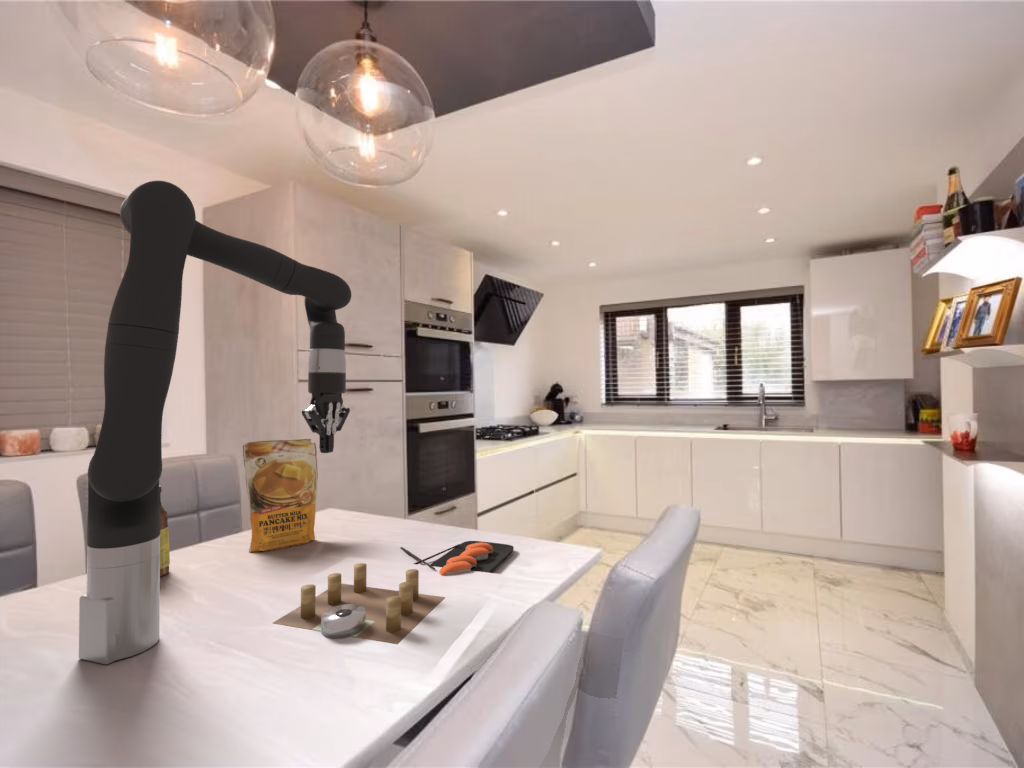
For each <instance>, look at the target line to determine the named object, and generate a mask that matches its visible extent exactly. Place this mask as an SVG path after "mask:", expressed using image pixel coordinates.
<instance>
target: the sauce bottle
mask: <svg viewBox="0 0 1024 768" xmlns="http://www.w3.org/2000/svg"><path fill="white" fill-rule="evenodd" d="M161 493H162V486H161V484H159V509H160V577H162V576H165V575H167V574H168V573H169V572H170V564H171V558H170V533H169V528H170V527H169V522H168V520H169V519H168V518H169V517H168V511H166V510H165V508H164V507H163V505H162V501H161V499H162V498H161V496H162V495H161Z"/></svg>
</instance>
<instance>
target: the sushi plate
mask: <svg viewBox="0 0 1024 768" xmlns="http://www.w3.org/2000/svg"><path fill="white" fill-rule="evenodd" d="M399 548H400V549H401V550H402V551H403V552H404V553H405V554H407V555H408V556H410V557H412V558H414V559H415V560H417V561H416V562H414V563H413V565H419V564H421V563H423V564H425V565H426V566H428V567H429V568H431V569H433V570H436V568H435V567H437V568H440V569H439V574H440V575H441V576H449V575H455V574H460V573H465V572H466V573H468V572H481V573H489V574H491V572H492V571H494V570H495V569H496V568H497V566H499V565H500V564H501V563H502V562H503V561H504V560H506V558H508V556H509V555H511V553H512V552H513V551H514V545H511V544H506V543H499V542H490V541H480V540H466V541H463V542H461V543H458V544H456V545H454V546H452V547H451V546H450V547H449V548H447V549H445V550H441V552H438V553H435V554H434V555H433V554H432V555H431V556H428V557H426V558H424V559H421V558H420V557H418V556H417V555H415V554H414V553H412V552H410V550H407V549H406V548H404V547H403V546H401V547H399ZM443 553H444V555H441V554H443ZM439 555H441V556H440V557H439V558H438V559H436V560H434V561H433V562H432V563H428V562H426V561H428V560H431V559H432V558H434V557H437V556H439Z"/></svg>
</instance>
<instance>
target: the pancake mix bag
mask: <svg viewBox="0 0 1024 768" xmlns="http://www.w3.org/2000/svg"><path fill="white" fill-rule="evenodd" d="M242 456H243V466H244V471H245V484H246V492H247V496H248V503H249V520H250V525H251V539H250V545H249V550H248V552H258V551H263V552H268V550H270V551H274V549H275V550H280V549H279V548H281V549H285V548H284V547H286V548H290V547H289V546H291V547H295V546H294V545H297V546H301V544H302V545H306V544H309V543H310V542H312V541H315V540H316V534H315V524H316V523H315V522H316V514H317V512H316V511H317V510H316V508H317V507H316V506H317V505H316V504H317V496H318V495H317V494H318V458H317V445H316V442H315V441H312V439H311V438H304V439H303V438H300V439H274V440H260V441H250V442H247V443H245V444H243V445H242ZM305 543H306V544H305Z"/></svg>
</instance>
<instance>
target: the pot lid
mask: <svg viewBox="0 0 1024 768" xmlns="http://www.w3.org/2000/svg"><path fill="white" fill-rule="evenodd" d="M365 625H366V611H365V608H364V607H362V606H360V605H356V604H346V605H339V606H336V607H333V608H330V609H328V610H326V611H325V612H324V613H323V614H322V616H321V631H320V633H321V634H322V636H324V637H326V638H329V639H343V638H349V637H351V636H352V635H355V634H357V633H359V632H361V631H362V630H363V629H364V628H365Z"/></svg>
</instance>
